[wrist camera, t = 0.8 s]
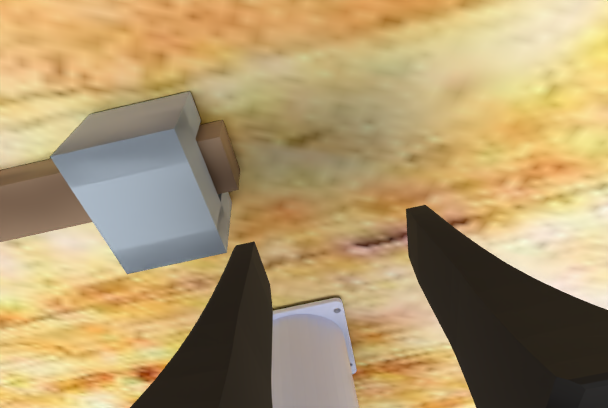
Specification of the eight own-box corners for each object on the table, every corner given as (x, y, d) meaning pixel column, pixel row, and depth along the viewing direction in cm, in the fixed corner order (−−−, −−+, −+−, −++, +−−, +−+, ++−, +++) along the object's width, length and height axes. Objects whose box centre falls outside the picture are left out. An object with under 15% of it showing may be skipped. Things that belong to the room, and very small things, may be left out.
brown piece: (252, 206, 23) (250, 258, 19) (-102, 283, 24) (-168, 347, 20) (205, 70, 18) (192, 105, 15) (-232, 171, 19) (-350, 229, 15)
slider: (231, 202, 22) (226, 252, 19) (147, 220, 22) (127, 274, 19) (190, 91, 18) (174, 128, 15) (89, 114, 19) (49, 156, 15)
